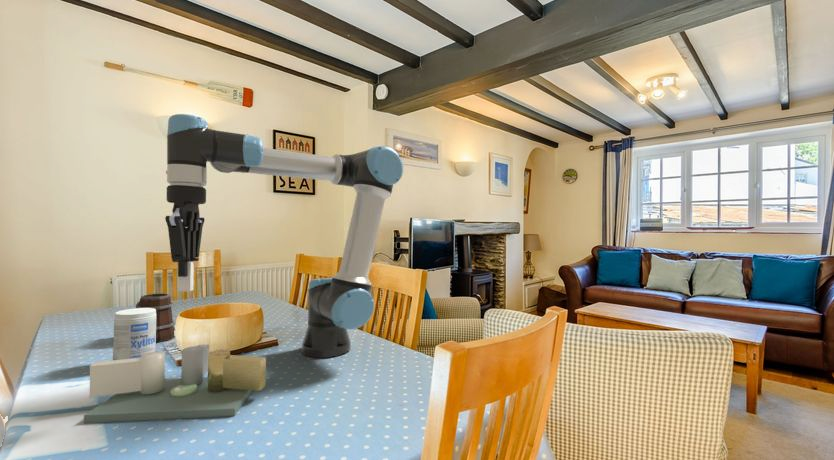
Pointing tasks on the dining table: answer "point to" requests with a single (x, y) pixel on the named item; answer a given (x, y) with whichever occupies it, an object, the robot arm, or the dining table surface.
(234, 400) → the base
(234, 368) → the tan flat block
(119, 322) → the supplement tub
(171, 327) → the mug
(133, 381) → the cream piece
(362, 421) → the dining table surface
